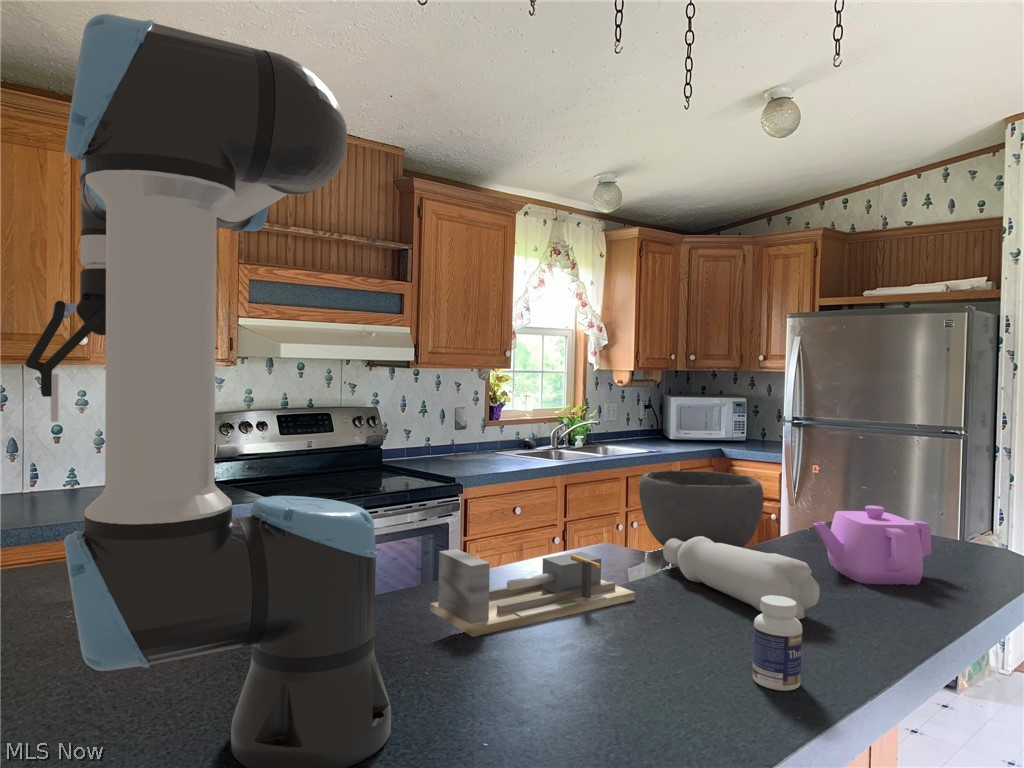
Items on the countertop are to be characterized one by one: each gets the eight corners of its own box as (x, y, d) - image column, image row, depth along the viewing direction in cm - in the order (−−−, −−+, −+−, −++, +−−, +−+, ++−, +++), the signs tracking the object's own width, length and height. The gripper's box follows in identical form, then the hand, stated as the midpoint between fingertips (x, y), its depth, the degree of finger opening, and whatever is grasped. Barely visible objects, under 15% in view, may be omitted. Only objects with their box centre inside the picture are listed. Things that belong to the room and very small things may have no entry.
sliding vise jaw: (617, 595, 114) (618, 560, 114) (534, 613, 105) (535, 576, 105) (581, 580, 121) (581, 548, 121) (500, 596, 112) (500, 561, 112)
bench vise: (634, 599, 117) (636, 542, 116) (472, 636, 99) (474, 569, 99) (585, 580, 126) (586, 527, 126) (430, 611, 109) (431, 549, 109)
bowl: (654, 531, 165) (656, 464, 164) (769, 545, 154) (771, 473, 154) (621, 556, 143) (623, 479, 142) (752, 574, 132) (754, 491, 132)
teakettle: (908, 594, 122) (910, 520, 122) (806, 572, 134) (808, 505, 134) (938, 575, 134) (940, 507, 134) (842, 556, 146) (844, 494, 146)
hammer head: (590, 597, 112) (591, 562, 111) (586, 598, 111) (587, 562, 111) (585, 595, 113) (586, 560, 112) (581, 596, 112) (582, 560, 112)
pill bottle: (795, 696, 83) (798, 611, 83) (747, 684, 86) (749, 602, 86) (804, 679, 88) (807, 598, 88) (758, 669, 91) (760, 590, 90)
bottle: (833, 597, 109) (700, 554, 137) (808, 549, 107) (678, 515, 135) (795, 638, 106) (667, 586, 133) (768, 589, 104) (644, 546, 131)
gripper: (198, 279, 115) (197, 415, 115) (3, 264, 100) (3, 420, 101) (210, 274, 109) (209, 418, 109) (4, 258, 94) (4, 424, 95)
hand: (110, 419), depth 105 cm, fingers open, 13 cm apart
